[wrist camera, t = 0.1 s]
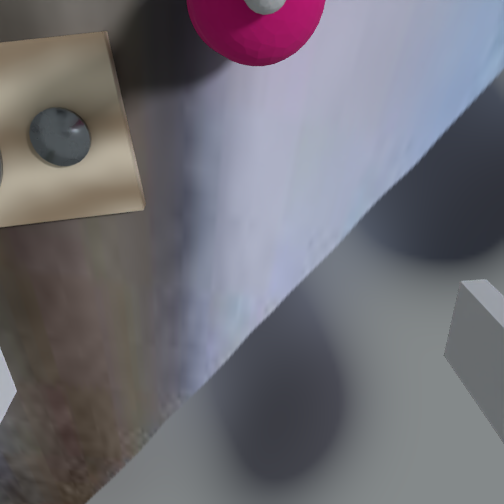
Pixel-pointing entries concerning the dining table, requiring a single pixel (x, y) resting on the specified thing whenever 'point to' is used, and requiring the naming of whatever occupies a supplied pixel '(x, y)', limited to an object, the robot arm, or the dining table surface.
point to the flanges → (58, 137)
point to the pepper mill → (255, 27)
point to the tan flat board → (82, 103)
